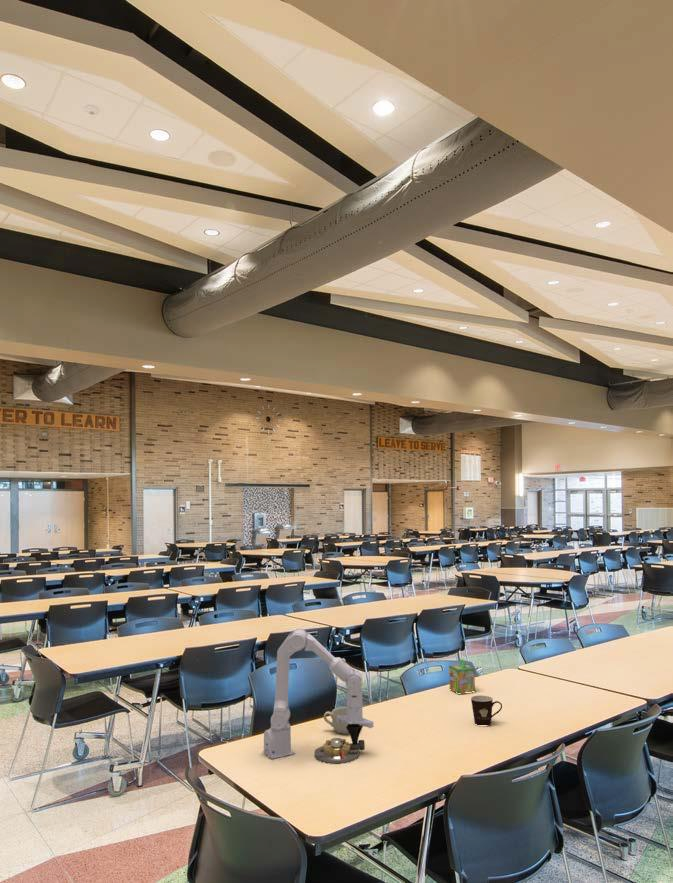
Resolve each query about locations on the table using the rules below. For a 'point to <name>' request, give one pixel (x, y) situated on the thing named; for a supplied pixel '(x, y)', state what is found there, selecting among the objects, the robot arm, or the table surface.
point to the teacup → (338, 726)
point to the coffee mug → (483, 709)
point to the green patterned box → (462, 678)
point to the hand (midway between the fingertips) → (355, 745)
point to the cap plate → (336, 759)
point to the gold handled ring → (345, 747)
